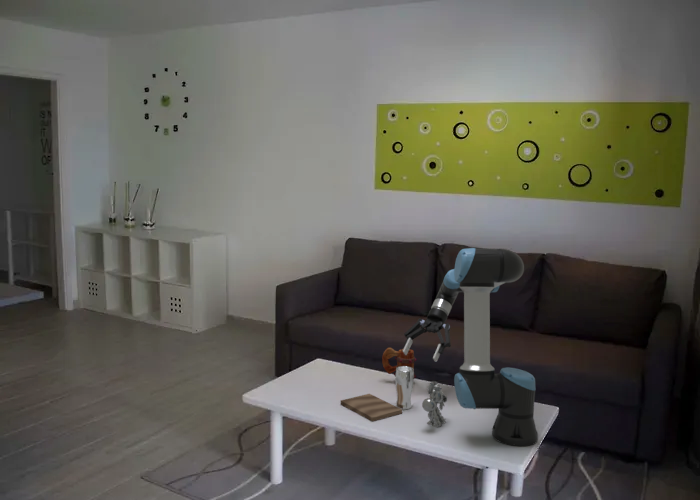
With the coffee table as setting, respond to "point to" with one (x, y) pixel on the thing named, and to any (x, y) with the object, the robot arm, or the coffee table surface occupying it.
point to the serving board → (371, 407)
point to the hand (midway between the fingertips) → (419, 356)
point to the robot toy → (434, 404)
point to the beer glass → (404, 386)
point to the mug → (401, 358)
